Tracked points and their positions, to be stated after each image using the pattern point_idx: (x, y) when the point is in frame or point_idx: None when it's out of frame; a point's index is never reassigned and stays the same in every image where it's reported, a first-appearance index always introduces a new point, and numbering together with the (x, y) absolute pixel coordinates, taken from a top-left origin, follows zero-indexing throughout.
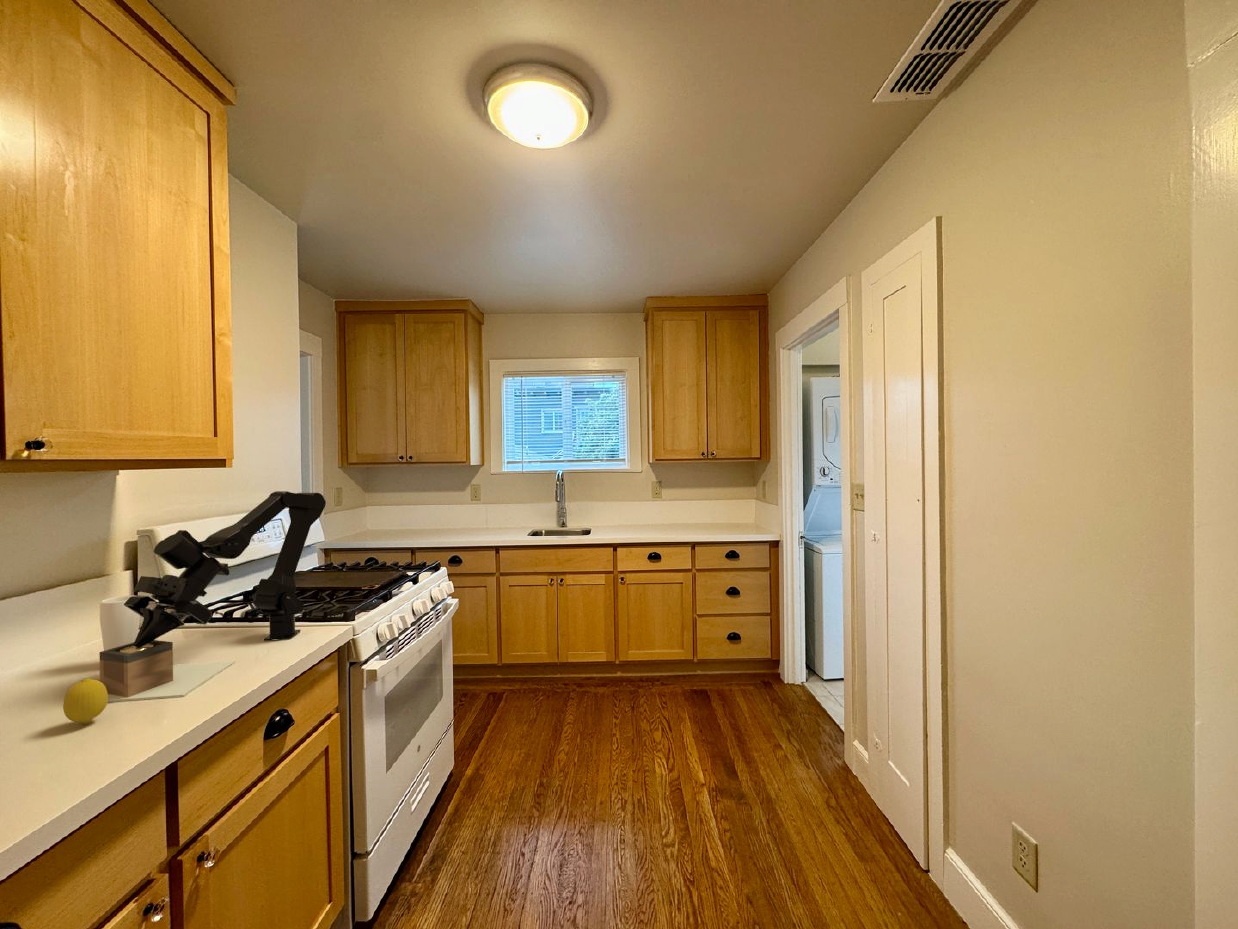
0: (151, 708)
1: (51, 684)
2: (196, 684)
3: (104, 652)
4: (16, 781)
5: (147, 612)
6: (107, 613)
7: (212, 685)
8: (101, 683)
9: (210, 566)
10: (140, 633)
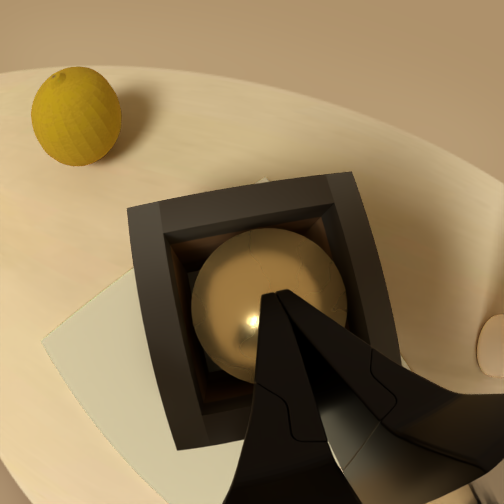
0: (43, 262)
1: (470, 213)
2: (88, 404)
3: (323, 177)
4: (13, 74)
5: (466, 438)
6: None
7: (63, 421)
8: (38, 119)
9: None
10: (317, 334)
